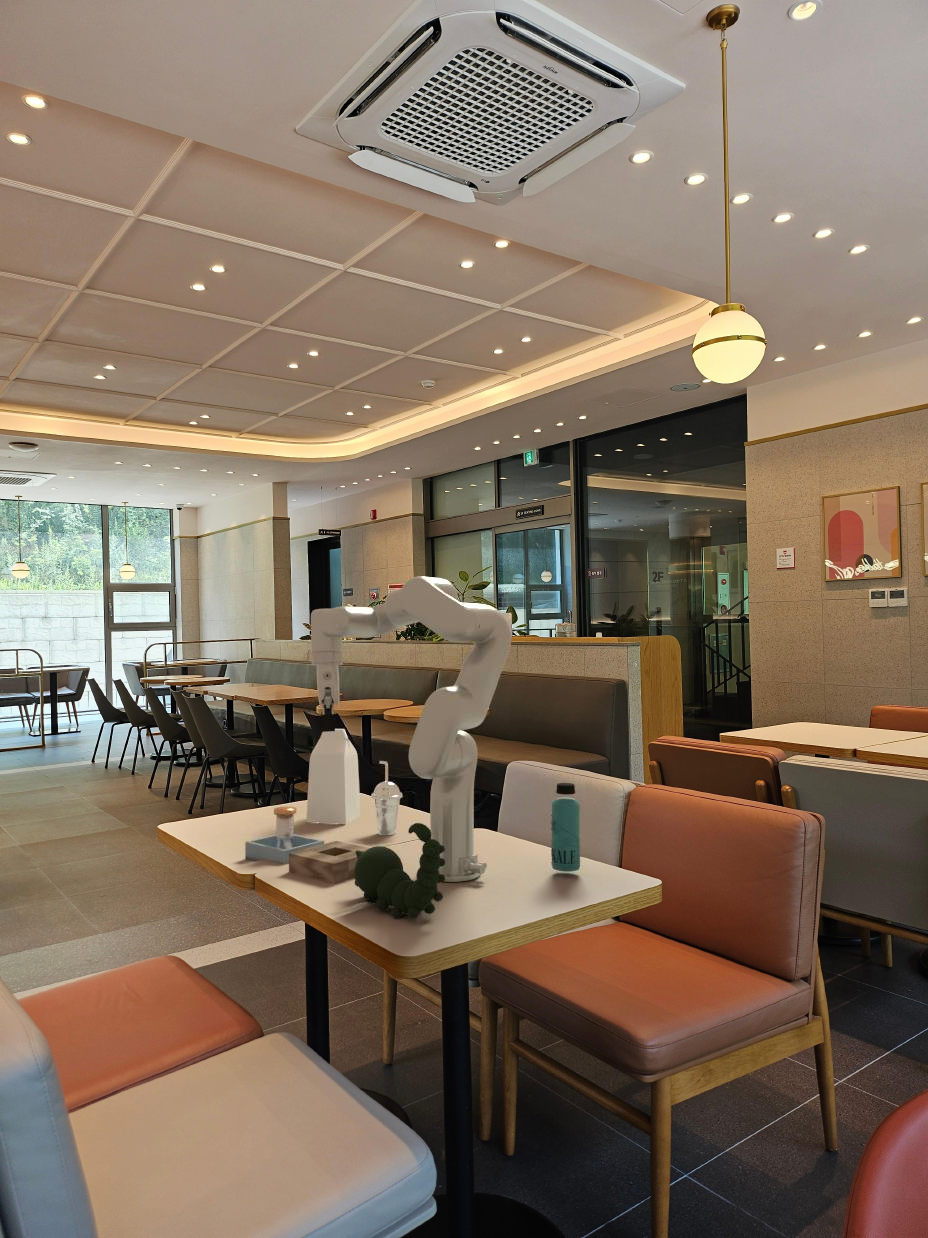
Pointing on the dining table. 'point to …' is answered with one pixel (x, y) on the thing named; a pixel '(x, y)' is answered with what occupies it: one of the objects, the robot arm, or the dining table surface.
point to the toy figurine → (401, 877)
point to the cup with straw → (386, 804)
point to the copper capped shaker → (285, 827)
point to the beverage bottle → (565, 830)
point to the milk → (333, 780)
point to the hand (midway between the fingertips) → (328, 729)
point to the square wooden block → (326, 861)
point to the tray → (268, 850)
